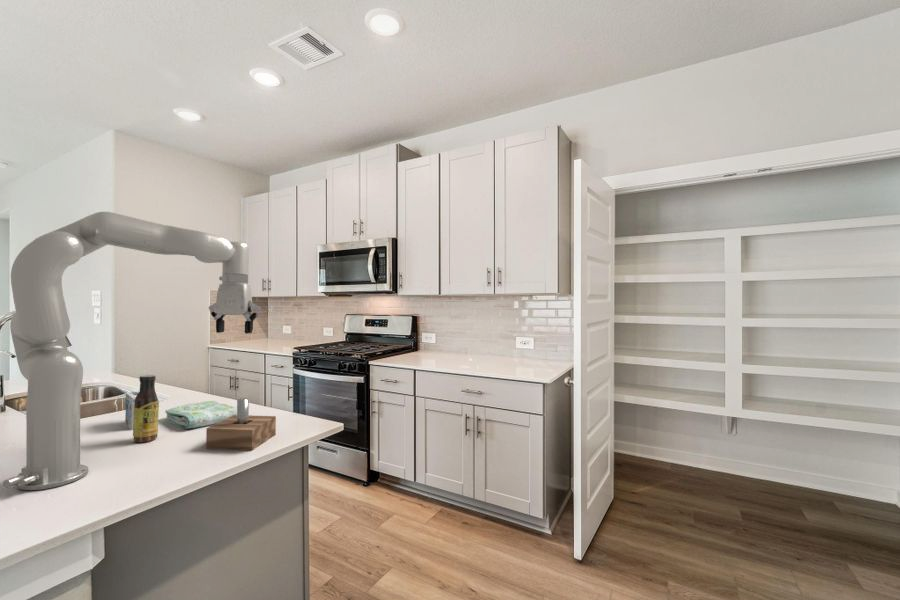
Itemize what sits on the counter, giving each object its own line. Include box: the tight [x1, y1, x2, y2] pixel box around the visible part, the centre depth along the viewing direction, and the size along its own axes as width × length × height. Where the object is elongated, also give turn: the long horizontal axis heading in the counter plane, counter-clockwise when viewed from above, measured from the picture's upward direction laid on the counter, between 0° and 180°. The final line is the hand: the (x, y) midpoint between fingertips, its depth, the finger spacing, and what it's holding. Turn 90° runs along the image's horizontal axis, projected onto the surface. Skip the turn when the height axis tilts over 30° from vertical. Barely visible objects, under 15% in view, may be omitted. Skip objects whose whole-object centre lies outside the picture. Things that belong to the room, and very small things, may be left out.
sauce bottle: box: [132, 374, 160, 444], centre depth 129 cm, size 7×6×20 cm
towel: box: [165, 400, 237, 430], centre depth 151 cm, size 18×21×5 cm
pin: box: [236, 397, 250, 424], centre depth 129 cm, size 3×3×12 cm
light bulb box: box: [124, 390, 140, 431], centre depth 145 cm, size 11×7×11 cm, turn 47°
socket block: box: [205, 414, 277, 452], centre depth 129 cm, size 14×14×6 cm
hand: (234, 332), depth 136 cm, fingers open, 9 cm apart
